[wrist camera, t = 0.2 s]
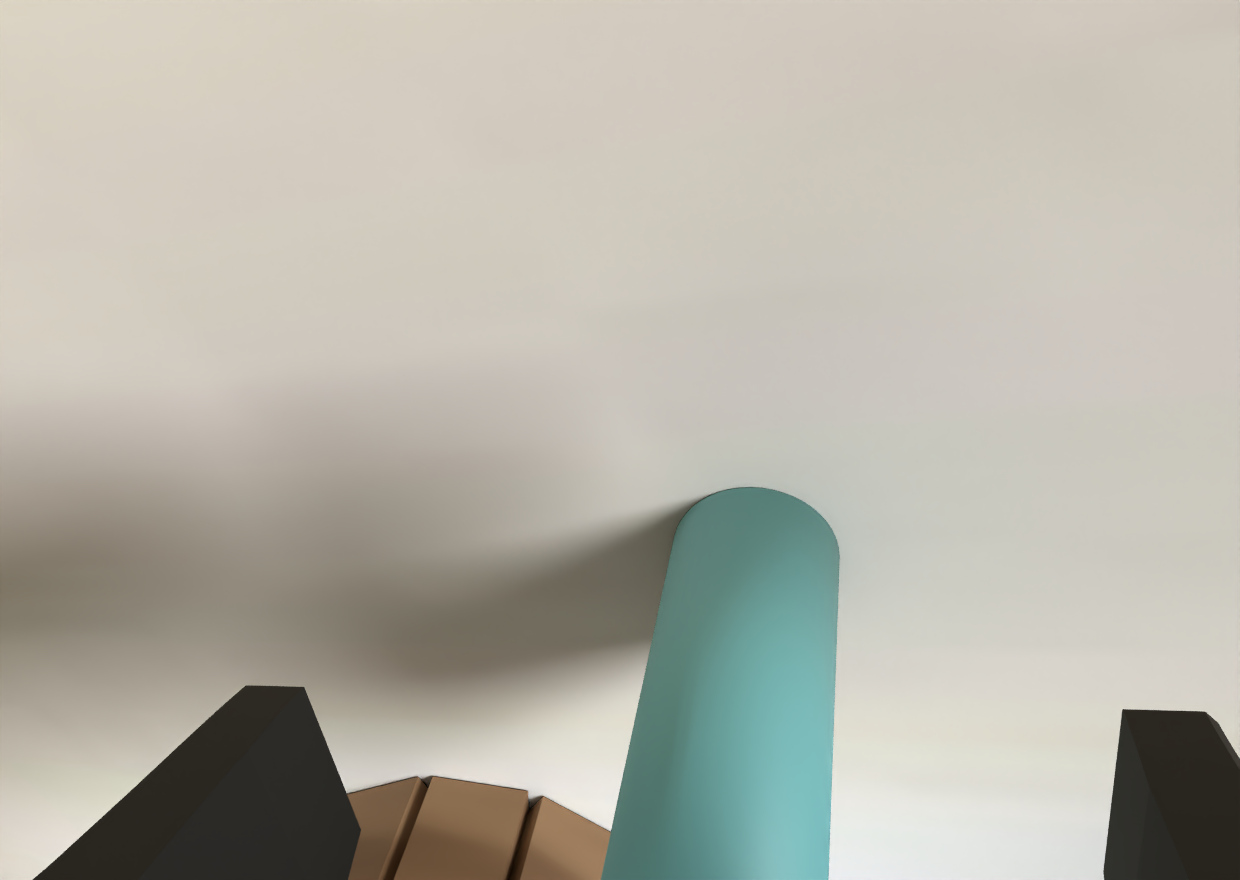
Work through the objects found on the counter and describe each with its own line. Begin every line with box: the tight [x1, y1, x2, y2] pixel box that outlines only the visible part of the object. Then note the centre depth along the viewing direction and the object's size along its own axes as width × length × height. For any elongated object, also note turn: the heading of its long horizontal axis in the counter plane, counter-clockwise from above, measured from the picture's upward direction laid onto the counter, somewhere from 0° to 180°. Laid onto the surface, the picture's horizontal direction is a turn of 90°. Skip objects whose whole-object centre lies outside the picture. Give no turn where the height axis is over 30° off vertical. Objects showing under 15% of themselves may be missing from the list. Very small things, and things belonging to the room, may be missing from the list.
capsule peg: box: [601, 487, 840, 880], centre depth 18 cm, size 3×3×8 cm
